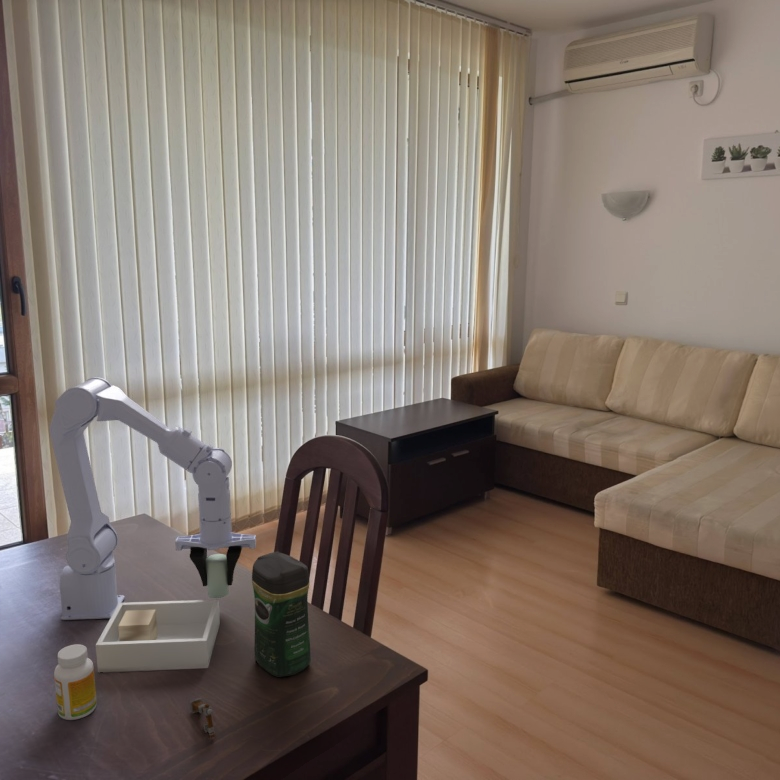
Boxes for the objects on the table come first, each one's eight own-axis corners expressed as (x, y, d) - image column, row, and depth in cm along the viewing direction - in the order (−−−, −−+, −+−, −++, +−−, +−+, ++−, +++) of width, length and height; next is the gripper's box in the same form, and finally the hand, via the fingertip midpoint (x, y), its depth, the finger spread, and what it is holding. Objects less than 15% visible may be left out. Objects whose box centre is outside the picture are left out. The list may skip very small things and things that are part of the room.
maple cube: (120, 652, 121) (118, 625, 120) (128, 636, 126) (126, 610, 125) (150, 651, 122) (148, 624, 121) (157, 635, 127) (155, 609, 126)
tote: (97, 672, 117) (95, 645, 116) (121, 627, 130) (119, 602, 129) (207, 668, 119) (206, 640, 118) (219, 624, 132) (218, 599, 131)
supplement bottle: (103, 699, 111) (98, 642, 108) (85, 722, 105) (80, 663, 103) (70, 696, 111) (64, 640, 109) (50, 719, 106) (44, 660, 104)
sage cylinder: (205, 598, 134) (204, 563, 133) (209, 588, 138) (207, 554, 136) (227, 597, 134) (226, 563, 133) (230, 587, 138) (229, 553, 137)
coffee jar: (318, 666, 119) (317, 563, 115) (277, 685, 114) (274, 577, 110) (287, 641, 127) (285, 543, 123) (247, 658, 122) (243, 556, 118)
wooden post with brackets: (208, 741, 101) (202, 707, 101) (194, 731, 107) (189, 699, 108) (220, 736, 102) (215, 703, 102) (205, 726, 108) (200, 696, 109)
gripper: (170, 525, 128) (174, 594, 131) (252, 523, 130) (254, 592, 132) (178, 510, 135) (181, 576, 138) (256, 508, 136) (258, 574, 139)
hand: (217, 583), depth 136 cm, fingers closed on sage cylinder, 4 cm apart
